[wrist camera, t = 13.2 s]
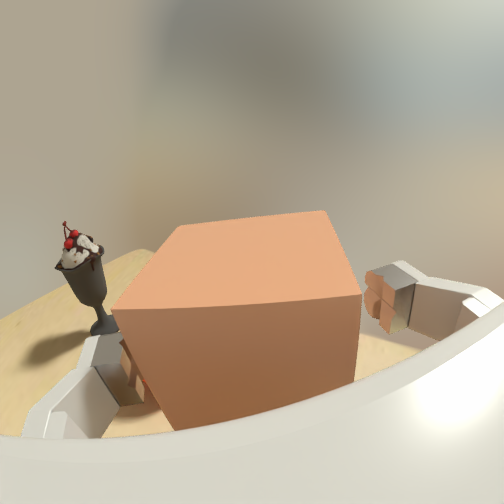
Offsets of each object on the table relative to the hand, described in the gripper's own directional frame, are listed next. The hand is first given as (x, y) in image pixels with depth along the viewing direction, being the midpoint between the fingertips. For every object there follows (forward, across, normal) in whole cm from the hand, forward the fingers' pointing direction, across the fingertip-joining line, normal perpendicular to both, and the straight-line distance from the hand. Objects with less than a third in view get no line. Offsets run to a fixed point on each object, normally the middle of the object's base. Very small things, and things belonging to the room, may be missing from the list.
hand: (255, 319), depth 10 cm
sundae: (+24, +16, +15) cm, 33 cm away
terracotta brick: (0, 0, +7) cm, 7 cm away
